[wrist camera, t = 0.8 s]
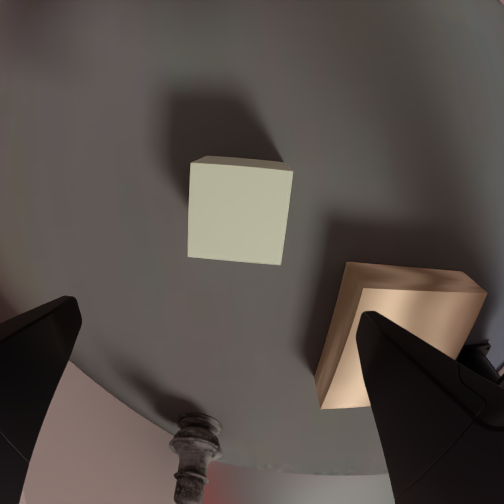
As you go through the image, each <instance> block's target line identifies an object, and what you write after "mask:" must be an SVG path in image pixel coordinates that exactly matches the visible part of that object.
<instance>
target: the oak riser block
mask: <svg viewBox="0 0 504 504" xmlns="http://www.w3.org/2000/svg"><path fill="white" fill-rule="evenodd" d="M486 295H487V292H486V291H485V290H483V289H482V288H481V287H480V286H479V285H478V284H477V283H476V282H474V281H473V280H472V279H471V278H470V277H469V276H467V275H466V274H465V273H464V272H461V271H450V270H438V269H427V268H415V267H404V266H392V265H381V264H369V263H358V262H347V261H346V265H345V270H344V274H343V278H342V282H341V286H340V290H339V294H338V298H337V302H336V305H335V309H334V313H333V317H332V320H331V324H330V327H329V331H328V334H327V338H326V341H325V344H324V348H323V351H322V354H321V357H320V360H319V364H318V367H317V370H316V373H315V376H314V379H315V384H316V388H317V393H318V398H319V403H320V409H334V408H352V407H365V406H371V404H370V401H369V398H368V394H367V391H366V387H365V384H364V380H363V375H362V370H361V364H360V359H359V354H358V349H357V344H356V331H357V328H358V324H359V321H360V317H361V314H362V313H363V312H364V311H377V312H378V313H380V314H381V315H383V316H385V317H386V318H388V319H390V320H391V321H393V322H394V323H396V324H398V325H399V326H401V327H403V328H404V329H406V330H407V331H409V332H411V333H412V334H414V335H416V336H417V337H419V338H420V339H422V340H424V341H425V342H427V343H428V344H430V345H432V346H433V347H435V348H436V349H438V350H440V351H441V352H443V353H444V354H446V355H448V356H449V357H451V358H452V359H454V360H455V359H456V358H457V356H458V354H459V352H460V350H461V349H462V347H463V345H464V343H465V341H466V339H467V337H468V335H469V333H470V331H471V329H472V327H473V325H474V323H475V321H476V318H477V316H478V314H479V312H480V310H481V307H482V305H483V303H484V300H485V298H486Z"/></svg>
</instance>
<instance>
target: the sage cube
mask: <svg viewBox="0 0 504 504" xmlns="http://www.w3.org/2000/svg"><path fill="white" fill-rule="evenodd" d="M292 177H293V171H292V170H291V169H290V168H289V167H288V166H287V165H286V164H285V163H284V162H277V161H268V160H258V159H247V158H234V157H220V156H205V157H203V158H200V159H198V160H196V161H194V162H192V163H191V166H190V187H189V215H188V257H196V258H206V259H217V260H228V261H240V262H251V263H262V264H274V265H281V260H282V253H283V246H284V239H285V232H286V224H287V217H288V209H289V201H290V193H291V185H292Z"/></svg>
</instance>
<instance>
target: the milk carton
mask: <svg viewBox="0 0 504 504" xmlns="http://www.w3.org/2000/svg"><path fill="white" fill-rule="evenodd" d="M173 437H174V436H173V435H171V434H170V433H168V432H166V431H165V430H163V429H161V428H160V427H158V426H156V425H155V424H153V423H152V422H150V421H149V420H147V419H145V418H144V417H142V416H141V415H139V414H138V413H136V412H135V411H133V410H132V409H131V408H129V407H128V406H126V405H125V404H123V403H122V402H121V401H119V400H118V399H116V398H115V397H114V396H112V395H111V394H110V393H108V392H107V391H106V390H104V389H103V388H102V387H101V386H99V385H98V384H97V383H96V382H94V381H93V380H92V379H91V378H89V377H88V376H87V375H86V374H84V373H83V372H82V371H81V370H80V369H79V368H77V367H76V366H75V365H74V364H73V363H72V362H70V361H68V363H67V366H66V368H65V370H64V372H63V375H62V377H61V379H60V382H59V384H58V386H57V389H56V391H55V393H54V396H53V398H52V401H51V403H50V406H49V408H48V411H47V414H46V416H45V419H44V422H43V424H42V427H41V430H40V433H39V436H38V438H37V441H36V444H35V447H34V451H33V454H32V457H31V460H30V463H29V468H28V471H27V475H26V478H25V482H24V486H23V490H22V494H21V498H20V503H19V504H176V503H175V502H174V493H175V487H176V481H177V479H175V477H174V474H175V473H176V472H178V466H179V456H178V455H177V454H175V453H174V452H173V451H172V450H171V449H170V447H169V442H170V441H171V440H172V439H173Z"/></svg>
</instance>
